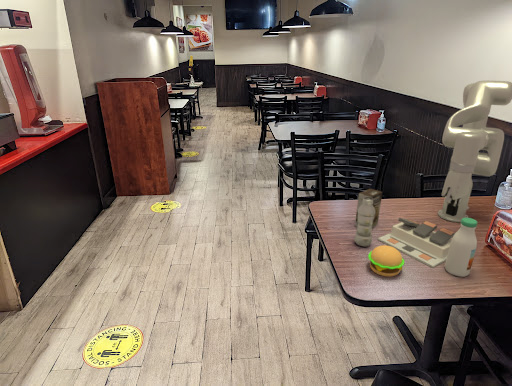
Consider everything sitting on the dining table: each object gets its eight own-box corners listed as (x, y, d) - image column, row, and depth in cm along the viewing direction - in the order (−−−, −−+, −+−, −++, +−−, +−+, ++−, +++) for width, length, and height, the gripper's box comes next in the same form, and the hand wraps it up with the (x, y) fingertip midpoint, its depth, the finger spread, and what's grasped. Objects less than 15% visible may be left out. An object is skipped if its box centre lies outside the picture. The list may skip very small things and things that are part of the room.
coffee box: (366, 231, 149) (371, 197, 143) (354, 226, 153) (358, 192, 147) (378, 225, 154) (383, 191, 148) (365, 220, 159) (369, 187, 153)
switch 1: (408, 222, 146) (409, 219, 146) (418, 227, 142) (420, 224, 142) (398, 220, 141) (399, 217, 141) (408, 225, 137) (410, 222, 137)
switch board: (403, 229, 151) (405, 218, 149) (458, 253, 132) (461, 241, 130) (377, 239, 142) (379, 228, 140) (432, 268, 123) (435, 255, 121)
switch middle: (425, 223, 140) (425, 220, 139) (436, 228, 136) (437, 225, 135) (412, 232, 137) (412, 230, 136) (424, 237, 133) (424, 235, 132)
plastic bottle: (372, 249, 135) (378, 202, 128) (354, 247, 136) (359, 201, 129) (370, 241, 141) (376, 196, 134) (353, 239, 142) (358, 194, 135)
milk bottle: (458, 279, 117) (472, 227, 110) (439, 267, 124) (451, 217, 116) (474, 274, 120) (488, 222, 112) (454, 262, 126) (467, 213, 119)
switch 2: (441, 230, 135) (441, 227, 134) (454, 235, 131) (454, 232, 130) (429, 240, 131) (429, 237, 131) (441, 245, 128) (442, 243, 127)
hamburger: (361, 260, 128) (364, 240, 125) (393, 259, 129) (396, 239, 126) (374, 280, 117) (377, 258, 114) (408, 278, 118) (413, 257, 114)
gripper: (462, 161, 129) (451, 206, 135) (439, 167, 121) (429, 215, 128) (483, 166, 123) (471, 213, 130) (461, 173, 115) (449, 223, 122)
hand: (450, 214), depth 129 cm, fingers closed
